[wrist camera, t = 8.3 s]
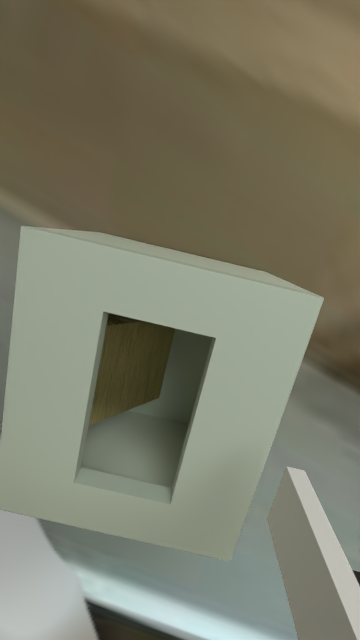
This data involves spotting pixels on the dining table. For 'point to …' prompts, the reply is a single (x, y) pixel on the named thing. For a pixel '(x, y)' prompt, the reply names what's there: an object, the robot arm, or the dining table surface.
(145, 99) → the dining table surface
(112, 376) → the tan wooden block
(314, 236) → the dining table surface
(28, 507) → the box
